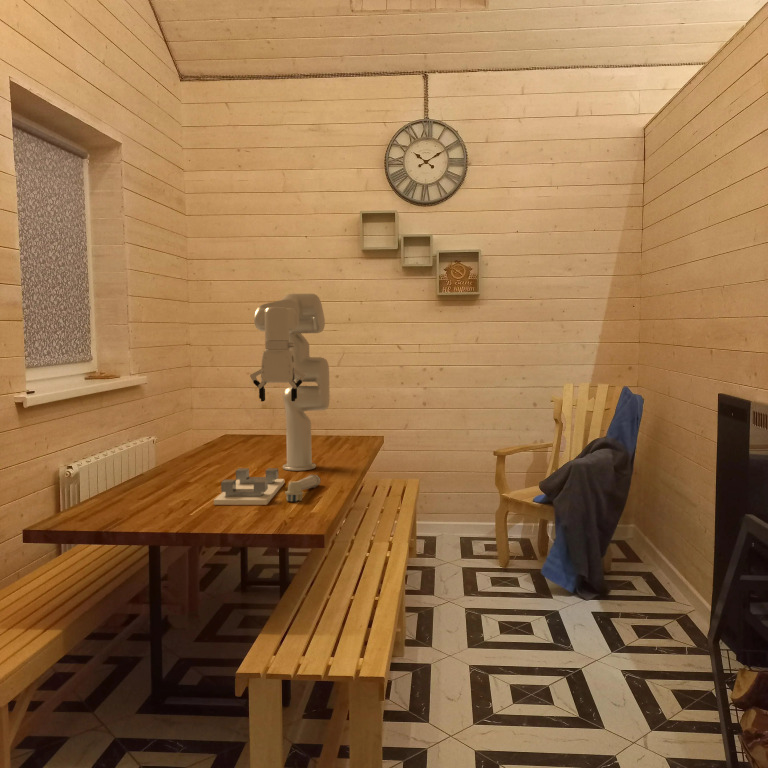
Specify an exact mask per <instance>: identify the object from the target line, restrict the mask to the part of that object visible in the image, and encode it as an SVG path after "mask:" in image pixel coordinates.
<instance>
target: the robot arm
mask: <svg viewBox="0 0 768 768" xmlns="http://www.w3.org/2000/svg"><path fill="white" fill-rule="evenodd" d="M253 315H254V316H253V324H254V326H255V328H256V329H257V330H258V331H259V332H264V340H265V341H264V346H265V347H264V351H262V357H261V367H260V369H258V370H257V371H255V372H253V373H250V380H251V381H252V382H253V384H254V385H255V386H256V387H257V388H258V397H259V400H260V402H265V401H266V389H265V386H266V384H269V383H271V384H272V383H273V384H274V383H275V384H277V383H279V384H280V383H283V384H284V383H285V384H286V383H289V385H290V386H288V387H286V388H285V389H284V391H283V395H282V398H283V405H284V412H285V431H286V432H285V433H286V437H285V438H286V441H285V442H286V445H285V446H286V463H284V464H283V465H282V469H283V470H285V471H290V472H291V471H292V472H293V471H294V472H296V471H297V472H301V471H310V470H313V469H315V468H316V467H317V465H316V463H315V462H313V461H312V460H313V459H312V456H313V455H312V421H311V419H310V417H309V416H308V415H307V414H306V413H305V412H308V411H309V412H311V411H313V412H314V411H316V412H319V411H320V412H322V411H326V410H327V409H328V408H329V406H330V398H331V397H330V396H331V395H330V367H329V366H330V365H329V362H328V361H327V359H326V358H324V357H321V356H320V357H317V356H316V357H315V356H313V357H311V356H310V343H309V341H308V340H307V339H306V337H305V336H304V335H303V334H320V333H322V332H323V331H324V329H325V327H326V326H325V325H326V320H325V314H324V310H323V304H322V302H321V299H320V297H319V296H318V295H317V294H315V293H289V294H286V295H284V296H283V297H282V298H281V299H280V300H275V301H271V302H267V303H263V304H261V305H259V306H258V307H257V308H256V310H255V313H254V314H253ZM259 375H260V380H261V382H260V381H259V380H258V379H257V377H258V376H259ZM303 383H316V384H317V385H301V384H303Z"/></svg>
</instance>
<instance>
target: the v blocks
mask: <svg viewBox="0 0 768 768" xmlns="http://www.w3.org/2000/svg"><path fill="white" fill-rule="evenodd" d="M276 479H279V467H278V468H277V467H276V468H271V467H268V468H267V469H265V476H250V468H247V467H246V468H245V467H243V468H242V467H241V468H240V467H239V468H238V469H236V470H235V479H224V480H222V481H221V482H220V487H221V493H222V492H225V493H226V497H261V496H262V495H263V494H264V492H265V491H266V490H267V489H268V484H273V483H274V482H275V480H276ZM236 480H240V484H254V489H236Z"/></svg>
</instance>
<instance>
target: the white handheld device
mask: <svg viewBox="0 0 768 768" xmlns="http://www.w3.org/2000/svg"><path fill="white" fill-rule="evenodd" d="M321 479H322V478H320V476H319V475H318V474H309V475H308V476H306V477H304V478H301V479H299V480H297V481H294V480H293V481H289V483H288V484H287V485H288V486H287V491H284V494H285V495H286V496H285V497H286V500H285V501H286V502H298V501H299V502H302V501H303V495H304V491H305V490H308V489H312V488H314V489H316V487H318V486H319V485H320V484H321V481H322V480H321Z"/></svg>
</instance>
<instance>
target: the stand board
mask: <svg viewBox="0 0 768 768" xmlns="http://www.w3.org/2000/svg"><path fill="white" fill-rule="evenodd" d="M235 480H236V479H235ZM283 485H285V478H277V479H276V480H275V482H274V483H273V484H268V489H267V490H266V491H265V492H264V494H263V495H262V496H261V497H226V493H225V492H221V493H220V494H219V495H218V496H216V497H215V498H214V499H213V505H214V506H218V505H220V506H221V505H222V506H225V505H226V506H229V505H230V506H231V505H232V506H235V505H237V506H244V505H245V506H248V505H249V506H250V505H251V506H255V505H257V506H258V505H259V506H262V505H263V506H264V505H265V506H267V505H268V504H269V503H270V501H271V500H272V499H273V498H274V497H275V495H277V493H278V492H279V491H280V489H281V488H283ZM236 489H254V484H240V480H236Z"/></svg>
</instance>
